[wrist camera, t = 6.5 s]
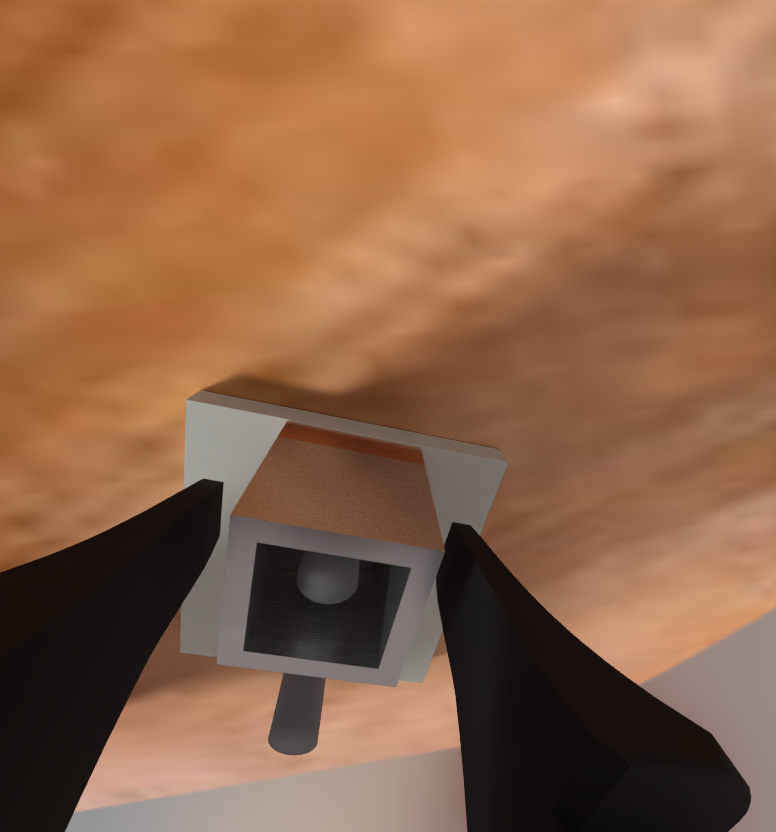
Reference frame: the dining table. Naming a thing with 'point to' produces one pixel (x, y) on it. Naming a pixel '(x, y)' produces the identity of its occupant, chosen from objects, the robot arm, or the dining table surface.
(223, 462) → the pin board
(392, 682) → the sleeve
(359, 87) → the dining table surface
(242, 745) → the dining table surface
